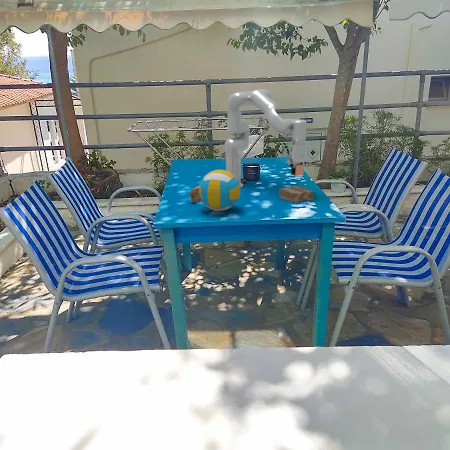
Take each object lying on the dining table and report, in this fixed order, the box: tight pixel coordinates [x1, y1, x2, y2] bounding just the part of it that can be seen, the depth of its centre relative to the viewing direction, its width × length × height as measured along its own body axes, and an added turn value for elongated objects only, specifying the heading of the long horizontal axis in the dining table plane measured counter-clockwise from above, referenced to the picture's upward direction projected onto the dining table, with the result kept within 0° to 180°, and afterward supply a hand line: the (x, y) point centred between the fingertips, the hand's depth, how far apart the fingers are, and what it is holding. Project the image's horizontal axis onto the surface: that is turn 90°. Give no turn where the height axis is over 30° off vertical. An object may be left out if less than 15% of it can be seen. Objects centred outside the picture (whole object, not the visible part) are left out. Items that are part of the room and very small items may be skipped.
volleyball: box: [198, 169, 241, 212], centre depth 220 cm, size 22×22×22 cm
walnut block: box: [279, 185, 314, 203], centre depth 244 cm, size 14×14×5 cm
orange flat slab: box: [189, 185, 202, 204], centre depth 240 cm, size 15×3×8 cm, turn 148°
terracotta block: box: [291, 163, 305, 177], centre depth 239 cm, size 5×5×6 cm
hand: (297, 173), depth 240 cm, fingers closed on terracotta block, 5 cm apart
